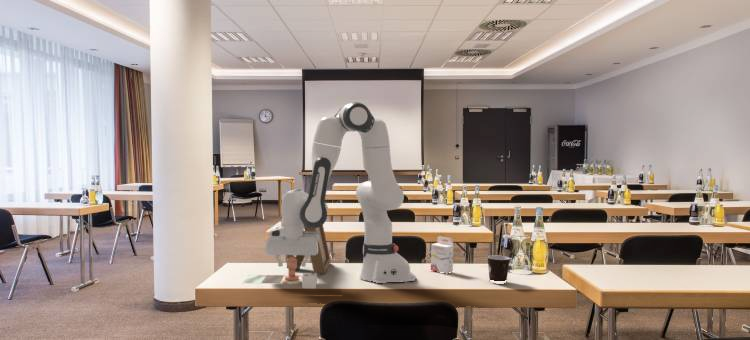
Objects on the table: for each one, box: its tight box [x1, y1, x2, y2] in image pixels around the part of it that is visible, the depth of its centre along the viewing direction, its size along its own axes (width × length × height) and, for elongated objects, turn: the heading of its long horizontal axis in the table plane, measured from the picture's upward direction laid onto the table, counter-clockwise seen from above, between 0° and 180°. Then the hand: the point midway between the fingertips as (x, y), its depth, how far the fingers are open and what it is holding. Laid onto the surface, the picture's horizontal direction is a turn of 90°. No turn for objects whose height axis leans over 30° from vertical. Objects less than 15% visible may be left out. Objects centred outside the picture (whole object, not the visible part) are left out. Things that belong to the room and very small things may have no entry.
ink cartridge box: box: [430, 235, 454, 274], centre depth 213 cm, size 9×5×15 cm, turn 49°
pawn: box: [284, 255, 299, 281], centre depth 195 cm, size 5×5×9 cm
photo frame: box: [294, 224, 332, 275], centre depth 214 cm, size 15×22×25 cm
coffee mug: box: [487, 254, 511, 281], centre depth 196 cm, size 12×9×10 cm
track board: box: [242, 274, 303, 284], centre depth 195 cm, size 23×14×1 cm, turn 92°
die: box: [301, 272, 318, 289], centre depth 185 cm, size 5×5×5 cm
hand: (292, 266), depth 195 cm, fingers open, 8 cm apart
